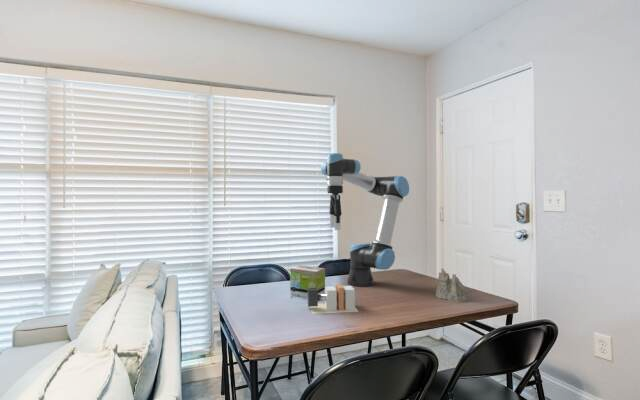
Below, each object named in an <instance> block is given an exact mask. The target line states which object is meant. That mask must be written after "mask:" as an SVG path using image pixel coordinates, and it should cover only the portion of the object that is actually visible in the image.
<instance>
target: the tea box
mask: <svg viewBox="0 0 640 400" xmlns="http://www.w3.org/2000/svg"><path fill="white" fill-rule="evenodd" d="M289 270H290V273H289V274H290V275H289V277H290V280H289V281H290V282H289V283H290V284H289V286H290V287H289V289H290V290H289V291H290V293H289V294H290V298H293V297H303V298H308V288H317V290H318V294H325V287H326V268H324V267H316V266H307V265H306V266H305V265H298V266H296V267H292V268H290V269H289Z"/></svg>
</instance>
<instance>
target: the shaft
mask: <svg viewBox="0 0 640 400" xmlns="http://www.w3.org/2000/svg"><path fill="white" fill-rule="evenodd" d="M344 300H345V293H344ZM325 301H327V294H318V290H317V288H308V297H307V306H308V307H309V308H310V307H312V306H318V303H319V302H320V303H321V302H325ZM337 301H338V294H337Z"/></svg>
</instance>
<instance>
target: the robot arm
mask: <svg viewBox="0 0 640 400" xmlns="http://www.w3.org/2000/svg"><path fill="white" fill-rule="evenodd" d="M360 171H361V163H360V161H359V160H357V159H354V158H353V159H351V158H350V159H349V158H344V155H343V154H342V153H338V152H337V153H335V152H334V153H332V152H331V153H329V154H328V155H327V161H324V162H323V163H321V167H320V172H321V174H323V175H324V176H326V179H325V180H326V181H327V186H326V187H327V189H326V190H327V194H331V195H330V197H329V198H330V199H329V213H328V214H329V216H330V217H329V228H334V231H341V229H342V228H341V226H342V225H341V223H342V222H341V219H342V218H341V216H342V207H341V206H342V205H341V194H344V193H343V192H344V187H343V184H344V181H345V182H347V183H349V184H352V185H355V186H357V187H360V188H362V189H363V190H364V191H365V192H367V193H369V194H372V195H375V196H379V197H382V199H383V204H382V208H381V209H382V210H381V213H380V217H379V221H378V225H377V226H378V227H377V231H376V235H375V239H374V241H372V242H371V243H369V242H366V243H365V242H363V243H355V244H351V246H350V251H349V253H350V254H349V257H350V258H349V259H350V263H349V264H350V265H349V266H350V270H349V274H348V276H347V282H346V283H347V284H348V286H352V287H353V286H354V287H369V286H373V285H374V282H375V281H374V277H373V274H372V271H371V270H372V269H377V270H380V271H381V270H383V271H384V270H385V271H386V270H389V269H390V268H391V267H393V264H395V261H396V260H395V259H396V255H395V251H394V250H393V246H392V245H393V244H391V242H392V239H393V234H394V229H395V226H396V225H395V224H396V220H397V214H398V211H399V205H400V203H402V202H403V200H404V198H405V197H407V196H408V195H409V193H410V185H409V184H410V183H409V182H408V179H407V178H406V177H405V176H402V175H395V176H392V175H391V176H373V175H366V174H364V173H362V172H360ZM371 268H372V269H371Z"/></svg>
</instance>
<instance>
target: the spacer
mask: <svg viewBox="0 0 640 400" xmlns="http://www.w3.org/2000/svg"><path fill="white" fill-rule="evenodd" d="M335 289H336V290H337V294H338V301H337V307H338V309H339V310H344V288H343V285H342V284H341V283H335Z"/></svg>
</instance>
